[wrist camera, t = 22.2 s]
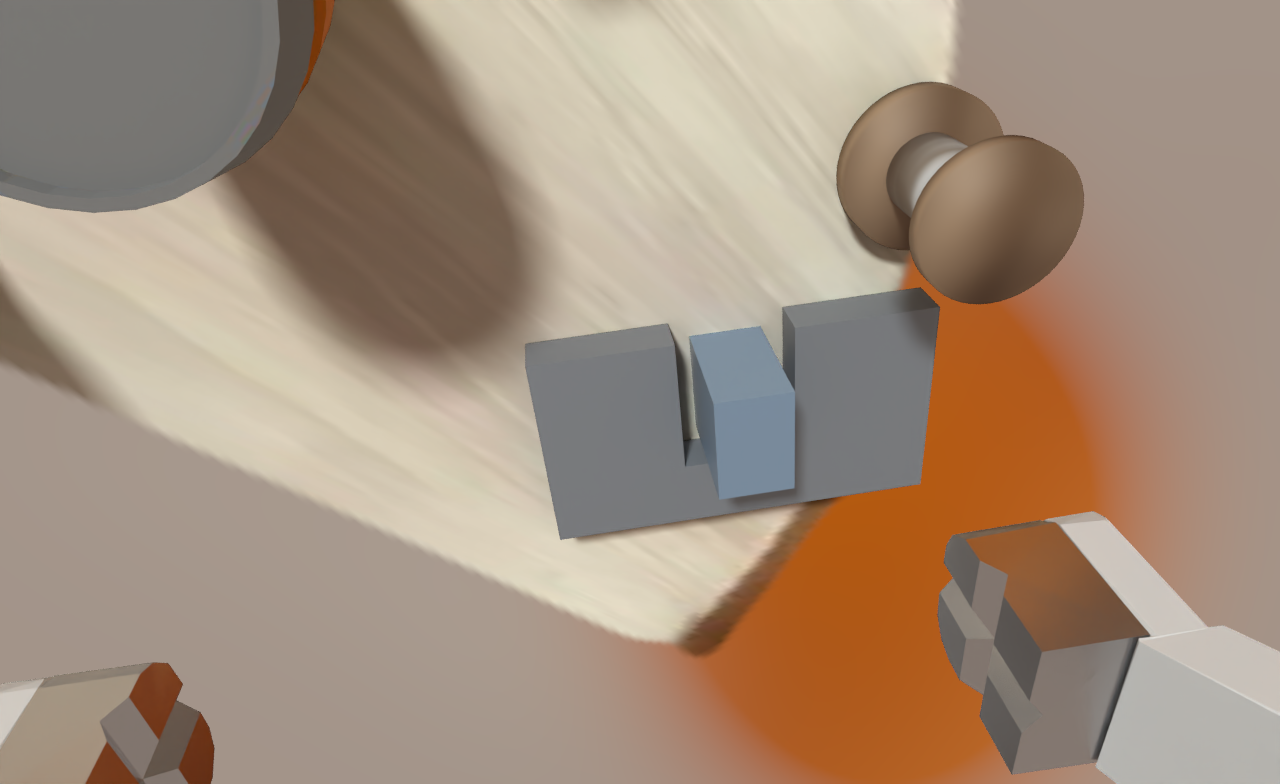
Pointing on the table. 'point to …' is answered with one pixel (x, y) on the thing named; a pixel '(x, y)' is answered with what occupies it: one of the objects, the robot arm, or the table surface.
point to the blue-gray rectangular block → (743, 412)
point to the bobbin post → (959, 192)
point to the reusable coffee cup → (144, 93)
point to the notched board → (678, 470)
